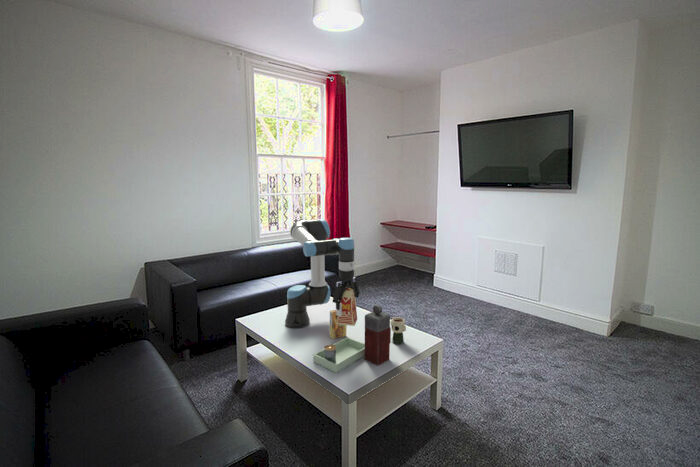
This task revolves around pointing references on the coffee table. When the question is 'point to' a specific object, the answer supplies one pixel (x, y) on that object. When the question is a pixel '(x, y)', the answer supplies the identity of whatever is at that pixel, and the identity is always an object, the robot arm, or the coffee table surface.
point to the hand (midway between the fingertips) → (346, 312)
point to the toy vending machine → (377, 336)
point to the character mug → (398, 329)
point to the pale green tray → (341, 355)
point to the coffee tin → (330, 353)
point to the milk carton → (348, 309)
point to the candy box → (336, 326)
